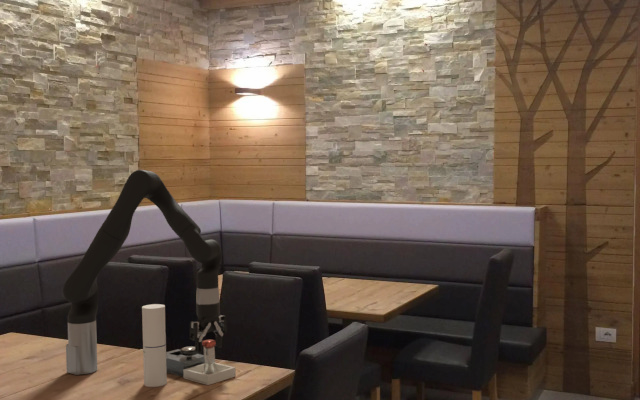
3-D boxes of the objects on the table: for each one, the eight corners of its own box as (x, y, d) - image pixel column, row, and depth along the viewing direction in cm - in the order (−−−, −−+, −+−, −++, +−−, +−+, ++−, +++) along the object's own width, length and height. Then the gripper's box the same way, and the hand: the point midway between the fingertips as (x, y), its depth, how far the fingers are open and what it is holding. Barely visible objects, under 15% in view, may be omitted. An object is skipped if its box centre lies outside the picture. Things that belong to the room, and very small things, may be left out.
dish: (208, 385, 234) (208, 375, 233) (183, 378, 241) (183, 369, 241) (235, 376, 243) (235, 367, 243) (211, 370, 250) (210, 361, 250)
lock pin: (209, 377, 239) (208, 343, 238) (200, 375, 242) (199, 341, 241) (219, 374, 242) (218, 340, 242) (210, 372, 245) (209, 339, 245)
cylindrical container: (155, 388, 231) (153, 309, 230) (139, 384, 235) (137, 307, 234) (171, 382, 237) (169, 305, 236) (155, 379, 241) (153, 303, 240)
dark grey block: (183, 377, 243) (183, 352, 242) (155, 369, 252) (154, 345, 252) (206, 370, 250) (206, 346, 250) (178, 363, 260) (177, 340, 259)
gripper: (216, 296, 249) (217, 344, 249) (183, 303, 238) (184, 352, 238) (231, 299, 244) (232, 347, 245) (199, 305, 233) (200, 356, 234)
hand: (209, 350), depth 242 cm, fingers open, 8 cm apart
